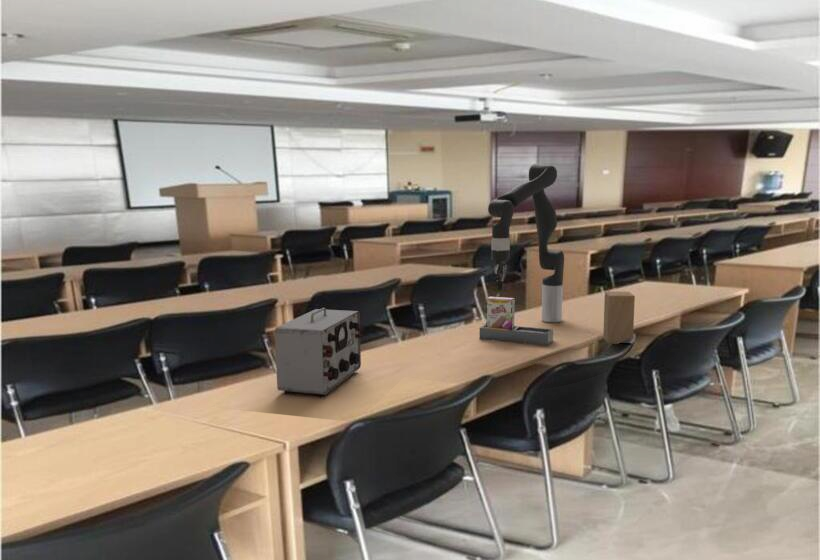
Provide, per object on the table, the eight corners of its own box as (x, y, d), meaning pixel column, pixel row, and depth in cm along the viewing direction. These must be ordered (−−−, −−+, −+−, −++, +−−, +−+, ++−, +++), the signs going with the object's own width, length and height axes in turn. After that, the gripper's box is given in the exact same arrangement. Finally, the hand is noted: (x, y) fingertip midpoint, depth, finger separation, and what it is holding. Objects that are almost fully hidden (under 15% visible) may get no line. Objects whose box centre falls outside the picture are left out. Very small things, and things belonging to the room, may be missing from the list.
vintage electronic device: (330, 400, 207) (327, 322, 203) (277, 395, 212) (274, 318, 208) (366, 371, 237) (364, 302, 233) (319, 367, 242) (317, 300, 238)
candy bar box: (485, 336, 280) (485, 298, 278) (488, 333, 285) (488, 296, 282) (511, 338, 276) (512, 299, 274) (514, 335, 281) (514, 297, 278)
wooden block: (627, 338, 278) (629, 291, 275) (633, 344, 268) (635, 295, 265) (603, 338, 279) (604, 291, 276) (607, 344, 269) (609, 295, 266)
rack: (486, 334, 288) (486, 322, 287) (552, 341, 275) (553, 328, 274) (479, 339, 280) (479, 326, 279) (547, 345, 268) (548, 333, 267)
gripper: (496, 246, 282) (496, 286, 285) (486, 250, 270) (486, 292, 273) (514, 247, 279) (513, 288, 282) (504, 250, 267) (504, 293, 270)
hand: (500, 289), depth 277 cm, fingers closed
